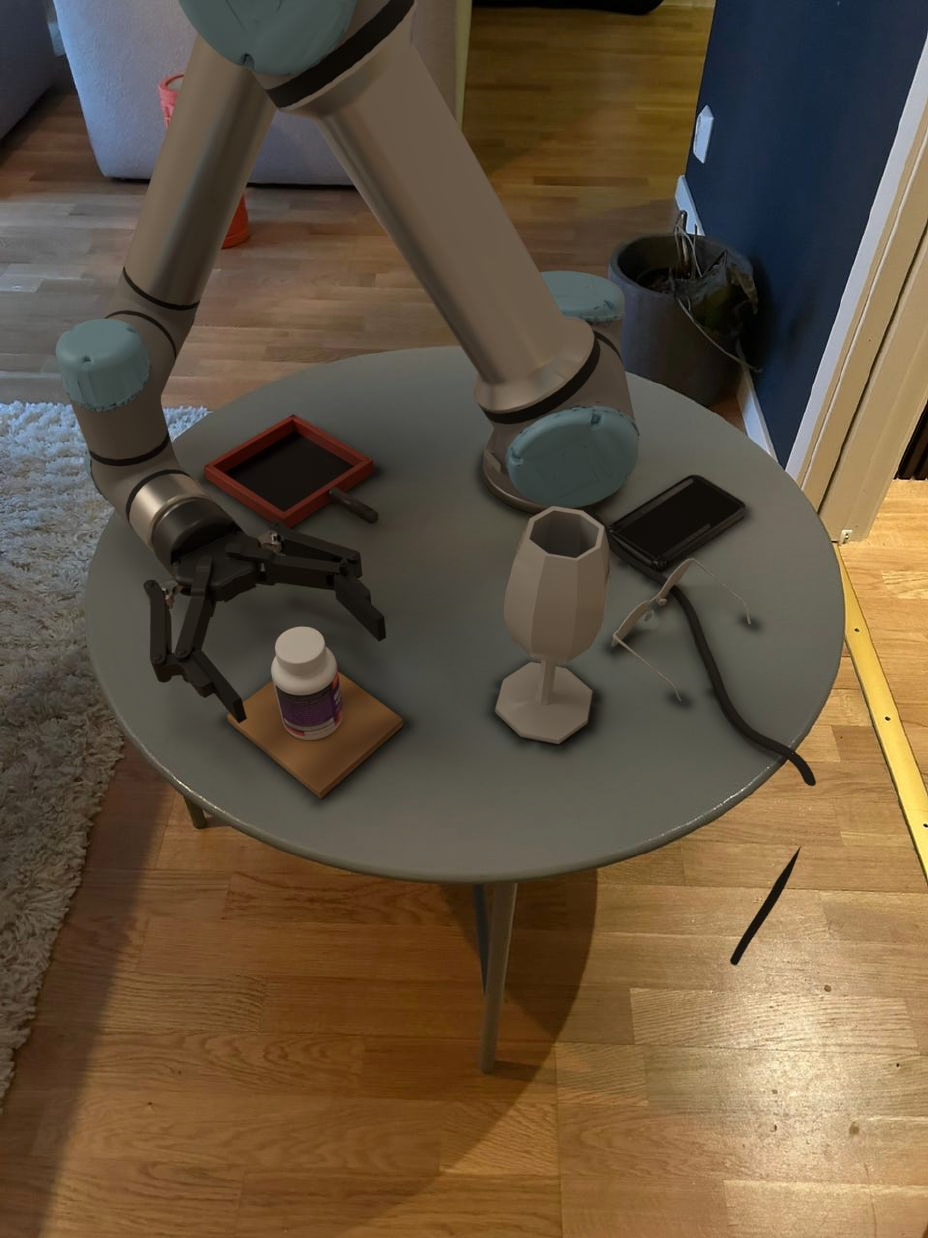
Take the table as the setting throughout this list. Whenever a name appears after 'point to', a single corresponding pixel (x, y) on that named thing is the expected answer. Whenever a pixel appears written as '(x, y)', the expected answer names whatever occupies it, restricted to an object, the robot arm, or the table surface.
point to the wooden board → (326, 756)
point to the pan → (293, 473)
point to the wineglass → (554, 621)
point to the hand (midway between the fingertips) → (313, 668)
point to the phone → (676, 522)
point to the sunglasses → (642, 608)
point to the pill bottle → (306, 684)
